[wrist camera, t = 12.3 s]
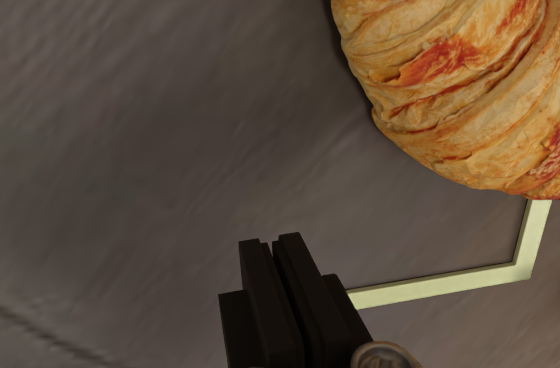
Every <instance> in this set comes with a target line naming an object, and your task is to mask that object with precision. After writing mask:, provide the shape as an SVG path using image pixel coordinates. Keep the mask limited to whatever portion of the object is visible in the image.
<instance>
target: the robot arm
mask: <svg viewBox="0 0 560 368" xmlns="http://www.w3.org/2000/svg"><path fill="white" fill-rule="evenodd" d="M272 253H273V257H272V254H271V252H270V249H269V246H268V244H267V242H266V243H260V241H259V239H258V238H257V239H251V240H245V241H239V254H240V265H241V275H242V286H243V290H239V291H234V292H228V293H223V294H218V297H219V305H220V313H221V321H222V328H223V335H224V342H225V349H226V355H227V362H228V368H423V367H422V366H421V365H420V364H419V362H418V361H417V360H416V359H415V358H414V357H413V355H411V354H410V353H409V352H408V351H407V350H406V349H404V348H402V347H401V346H399V345H397V344H394V343H390V342H387V341H373V339H372V337H371V335H370V334H369V332H368V330H367V328H366V326H365V325H364V323H363V321H362V319H361V317H360V316H359V314H358V312H357V310H356V308H355V307H354V305H353V303H352V301H351V299H350V298H349V296H348V294H347V292H346V290H345V289H344V287H343V285H342V283H341V281H340V280H339V278H338V277H337V275H336V274H329V275H323V276H321V274H320V272H319V270H318V269H317V267H316V265H315V263H314V261H313V259H312V257H311V255H310V253H309V251H308V249H307V247H306V245H305V243H304V241H303V239H302V237H301V235H300V233H299V232H295V233H289V234H283V235H279V238H278V241H273V242H272Z"/></svg>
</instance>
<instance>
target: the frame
mask: <svg viewBox="0 0 560 368" xmlns="http://www.w3.org/2000/svg"><path fill="white" fill-rule="evenodd" d="M551 201H552V200H530V199H528V202H527V206H526V210H525V213H524V217H523V221H522V225H521V229H520V233H519V237H518V241H517V245H516V249H515V253H514V257H513V261H512V262H509V263H504V264H498V265H492V266H486V267H480V268H474V269H468V270H463V271H457V272H451V273H445V274H439V275H433V276H427V277H422V278H416V279H410V280H404V281H398V282H392V283H386V284H380V285H375V286H369V287H363V288H357V289H351V290H346V292H347V294H348V296H349V298H350V299H351V301H352V303H353V305H354V307H355V308H356V309H362V308H367V307H373V306H379V305H384V304H390V303H395V302H401V301H407V300H412V299H418V298H423V297H429V296H435V295H440V294H446V293H451V292H457V291H463V290H468V289H474V288H479V287H485V286H491V285H496V284H502V283H507V282H513V281H519V280H524V279H529V278H530V275H531V272H532V268H533V265H534V261H535V258H536V254H537V251H538V247H539V244H540V240H541V237H542V233H543V229H544V226H545V222H546V219H547V215H548V212H549V208H550V205H551Z"/></svg>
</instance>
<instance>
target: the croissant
mask: <svg viewBox="0 0 560 368" xmlns="http://www.w3.org/2000/svg"><path fill="white" fill-rule="evenodd" d="M331 9H332V13H333V18H334V21H335V23H336V25H337V28H338V31H339V32H340V35H341V46H342V50H343V52H344V54H345V56H346V57H347V59H348V64H349V67H350V69H351V71H352V73H353V75H354V76H356V77H357V79H358V80H359V82H360V83H361V85H362V87H363V89H364V91H365V93H366V96H367V97H368V98H369V100H370V101H371V102H372V104H373V105H374V107H373V109H372V118H373V119H374V123H375V124H376V126H377V127H378V129H379V130H380V131H381V132H382V133H383V134H384V135H385V136H386V137H387V138H389V139H390V140H392V141H393V142H394V143H395V144H396V145H397V146H398V147H399V148H401V149H402V150H403V151H405V152H406V153H407V154H409V155H410V156H411V157H413V158H414V159H415V160H417V161H418V162H419V163H421V164H422V165H424V166H426V167H428V168H430V169H431V170H433V171H434V172H436V173H437V174H439V175H440V176H442V177H443V178H446V179H449V180H452V181H454V182H457V183H460V184H465V185H466V186H468V187H470V188H474V189H480V190H484V189H494V190H498V191H504V192H506V193H507V194H511V195H513V194H520V195H522V196H523V197H525V198H527V199H530V200H560V0H331Z"/></svg>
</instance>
